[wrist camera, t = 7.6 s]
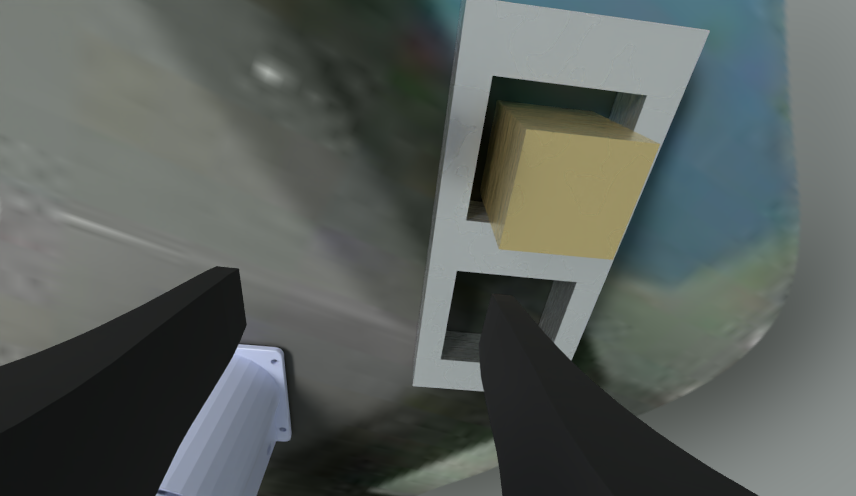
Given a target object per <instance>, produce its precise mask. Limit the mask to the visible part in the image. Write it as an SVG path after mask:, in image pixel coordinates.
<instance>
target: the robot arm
mask: <svg viewBox="0 0 856 496" xmlns="http://www.w3.org/2000/svg"><path fill="white" fill-rule="evenodd" d="M246 325H247V324H246V317H245V310H244V303H243V295H242V288H241V281H240V274H239V269H238V268H228V267H218V266H216V267H214V268H212V269H210V270H207V271H205V272H203V273H202V274H200V275H198V276H196V277H194V278H192V279H190V280H188V281H187V282H185V283H183V284H181V285H179V286H177V287H175V288H174V289H172V290H170V291H168V292H166V293H164V294H162V295H161V296H159V297H157V298H155V299H153V300H151V301H149V302H147V303H146V304H144V305H142V306H140V307H138V308H136V309H134V310H132V311H130V312H128V313H126V314H123V315H121V316H119V317H117V318H115V319H113V320H111V321H109V322H107V323H105V324H103V325H101V326H99V327H97V328H95V329H93V330H90V331H88V332H86V333H84V334H81V335H79V336H77V337H75V338H72V339H70V340H68V341H65V342H63V343H60V344H58V345H55V346H53V347H51V348H48V349H46V350H43V351H41V352H38V353H36V354H33V355H31V356H28V357H25V358H22V359H19V360H17V361H14V362H11V363H8V364H5V365H3V366H0V496H256V495H257V492H258V490H259V487H260V484H261V481H262V479H263V476H264V473H265V471H266V468H267V465H268V462H269V460H270V457H271V454H272V451H273V449H274V446H275V443H276V441H289V440H290V438H291V435H292V431H291V421H290V411H289V401H288V391H287V381H286V370H285V360H284V353H283V351H282V350H281V349H280V348H277V347H267V346H255V345H243V344H239V342H240V340H241V337H242V335H243V333H244V330H245V328H246ZM478 347H479V361H480V372H481V380H482V385H483V390H484V395H485V400H486V404H487V409H488V414H489V418H490V423H491V428H492V432H493V437H494V442H495V446H496V451H497V457H498V463H499V469H500V478H501V486H502V495H503V496H758V495H756V494H755V493H753V492H751V491H749V490H748V489H746V488H744V487H743V486H741V485H739V484H738V483H736V482H734V481H732V480H731V479H729V478H727V477H726V476H724V475H722V474H720V473H718V472H717V471H715V470H714V469H712V468H710V467H709V466H707V465H706V464H704V463H702V462H701V461H700V460H698V459H696V458H695V457H693V456H692V455H690V454H689V453H687V452H686V451H684V450H683V449H681V448H679V447H678V446H676V445H675V444H674V443H672V442H671V441H669V440H668V439H666V438H665V437H663V436H662V435H660V434H659V433H658V432H656V431H655V430H653V429H652V428H651V427H649V426H648V425H647V424H645V423H644V422H643V421H641V420H640V419H639V418H637V417H636V416H635V415H633V414H632V413H631V412H629V411H628V410H627V409H625V408H624V407H623V406H622V405H620V404H619V403H618V402H617V401H615V400H614V399H613V398H612V397H611V396H610V395H608V394H607V393H606V392H605V391H604V390H603V389H601V388H600V387H599V386H598V385H597V384H595V383H594V382H593V381H592V380H591V379H590V378H589V377H588V376H587V375H586V374H584V373H583V372H582V371H581V370H580V369H579V368H578V367H577V366H576V365H575V364H574V363H573V362H572V361H571V360H570V359H569V358H568V357H567V356H566V355H565V354H564V353H563V352H562V351H561V350H560V349H559V348H558V347H557V346H556V345H555V343H554V342H553V341H552V340H551V339H550V338H549V337H548V336H547V335H546V334H545V333H544V331H543V330H542V329H541V328H540V327H539V326H538V325H537V323H536V322H535V321H534V320H533V319H532V318H531V316H530V315H529V314H528V313H527V312H526V311H525V309H524V308H523V307H522V306H521V305H520V304H519V302H518V301H517V300H516V299H515V298H514V297H513V296H512V295H503V294H493V293H492V294H491V298H490V302H489V306H488V310H487V314H486V318H485V322H484V326H483V330H482V333H481V337H480V341H479V345H478ZM274 359H275V360H274Z"/></svg>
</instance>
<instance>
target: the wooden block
mask: <svg viewBox="0 0 856 496" xmlns="http://www.w3.org/2000/svg"><path fill="white" fill-rule="evenodd" d="M659 146H660V144H659V143H657V142H655V141H653V140H651V139H649V138H647V137H645V136H643V135H641V134H639V133H636V132H634V131H632V130H630V129H628V128H626V127H624V126H622V125H620V124H618V123H616V122H614V121H612V120H609V119H607V118H605V117H603V116H601V115H599V114H597V113H595V112H593V111H587V110H579V109H570V108H561V107H552V106H544V105H535V104H526V103H518V102H509V101H500V100H497V102H496V108H495V113H494V118H493V124H492V129H491V134H490V140H489V145H488V151H487V156H486V161H485V167H484V172H483V177H482V183H481V188H480V194H481V197H482V200H483V203H484V206H485V209H486V212H487V215H488V218H489V221H490V224H491V227H492V230H493V233H494V236H495V239H496V242H497V245H498V248H499V249H501V250H511V251H522V252H533V253H544V254H555V255H565V256H576V257H587V258H598V259H609V260H613V259H614V256H615V254H616V251H617V249H618V247H619V244H620V242H621V239H622V237H623V234H624V232H625V229H626V227H627V224H628V222H629V220H630V217H631V215H632V212H633V210H634V207H635V205H636V202H637V200H638V198H639V195H640V193H641V190H642V188H643V185H644V183H645V180H646V178H647V176H648V173H649V171H650V168H651V166H652V163H653V161H654V158H655V156H656V154H657V151H658V149H659Z"/></svg>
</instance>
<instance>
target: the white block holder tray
mask: <svg viewBox="0 0 856 496" xmlns="http://www.w3.org/2000/svg"><path fill="white" fill-rule="evenodd" d="M709 32H710V30H704V29H697V28H690V27H682V26H675V25H668V24H661V23H654V22H647V21H639V20H632V19H625V18H618V17H611V16H604V15H597V14H589V13H582V12H575V11H568V10H561V9H554V8H546V7H539V6H532V5H525V4H518V3H511V2H504V1H496V0H462V1H461V7H460V14H459V22H458V29H457V37H456V44H455V52H454V59H453V67H452V74H451V82H450V89H449V97H448V104H447V112H446V119H445V127H444V134H443V141H442V149H441V156H440V164H439V171H438V179H437V186H436V194H435V201H434V209H433V216H432V224H431V231H430V239H429V246H428V254H427V261H426V269H425V276H424V284H423V291H422V299H421V306H420V313H419V321H418V328H417V336H416V343H415V351H414V365H413V386H420V387H433V388H446V389H459V390H472V391H484V390H483V385H482V380H481V372H480V361H479V347H478V345H479V341H480V337H481V334H478V333H467V332H455V331H446V327H447V322H448V316H449V311H450V305H451V300H452V295H453V289H454V284H455V278H456V273H457V271H465V272H475V273H486V274H496V275H507V276H517V277H528V278H538V279H549V280H554V281H553V284H552V287H551V290H550V293H549V296H548V299H547V302H546V305H545V308H544V311H543V314H542V317H541V319H540V322H539V325H538V326H539V327H540V328H541V329H542V330H543V331H544V333H545V334H546V335H547V336H548V337H549V338H550V339H551V340H552V341H553V342H554V343H555V345H556V346H557V347H558V348H559V349H560V350H561V351H562V352H563V353H564V354H565V355H566V356H567V357H568V358H569V359H570V360H572V358H573V356H574V353H575V351H576V349H577V346H578V344H579V341H580V339H581V337H582V334H583V332H584V329H585V327H586V325H587V322H588V320H589V318H590V315H591V313H592V310H593V308H594V306H595V303H596V301H597V299H598V296H599V294H600V291H601V289H602V287H603V284H604V282H605V279H606V277H607V275H608V272H609V270H610V268H611V265H612V263H613V260H614V259H613V260H609V259H598V258H587V257H576V256H565V255H555V254H544V253H533V252H522V251H511V250H501V249H499V248H498V245H497V242H496V239H495V236H494V233H493V230H492V227H491V224H490V221H489V218H488V215H487V212H486V209H485V206H484V203H483V202H478V201H470V196H471V191H472V185H473V180H474V174H475V169H476V163H477V158H478V152H479V147H480V141H481V136H482V130H483V125H484V120H485V114H486V109H487V103H488V98H489V92H490V87H491V81H492V76H499V77H507V78H515V79H523V80H531V81H538V82H546V83H554V84H562V85H570V86H578V87H586V88H593V89H601V90H609V91H617V95H616V98H615V101H614V104H613V107H612V110H611V113H610V116H609V120H612V121H614V122H616V123H618V124H620V125H622V126H624V127H626V128H628V129H630V130H632V131H634V132H636V133H639V134H641V135H643V136H645V137H647V138H649V139H651V140H653V141H655V142H657V143H659V144H660V146H659V149H658V151H657V154H656V156H655V158H654V161H653V163H652V166H651V168H650V171H649V173H648V176H647V178H646V180H645V183H644V185H643V188H642V190H641V193H640V195H639V198H640V196H641V194H642V191H643V189H644V187H645V184H646V182H647V179H648V177H649V175H650V172H651V170H652V168H653V165H654V163H655V160H656V158H657V156H658V153H659V151H660V148H661V146H662V144H663V141H664V139H665V137H666V134H667V132H668V129H669V127H670V125H671V122H672V120H673V118H674V115H675V113H676V110H677V108H678V106H679V103H680V101H681V98H682V96H683V94H684V91H685V89H686V87H687V84H688V82H689V79H690V77H691V75H692V72H693V70H694V68H695V65H696V63H697V60H698V58H699V56H700V53H701V51H702V48H703V46H704V44H705V41H706V39H707V37H708V34H709ZM639 198H638V200H637V202H636V205H635V207H634V210H635V208H636V206H637V203H638V201H639ZM634 210H633V212H632V215H633V213H634ZM632 215H631V217H630V220H631V218H632ZM630 220H629V222H630ZM629 222H628V224H627V227H628V225H629ZM627 227H626V229H627ZM626 229H625V232H626ZM625 232H624V234H625ZM624 234H623V237H624ZM623 237H622V239H623ZM622 239H621V241H622ZM620 244H621V242H620ZM620 244H619V246H620ZM618 248H619V247H618ZM617 251H618V249H617ZM617 251H616V253H617ZM615 256H616V254H615ZM615 256H614V258H615Z"/></svg>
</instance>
